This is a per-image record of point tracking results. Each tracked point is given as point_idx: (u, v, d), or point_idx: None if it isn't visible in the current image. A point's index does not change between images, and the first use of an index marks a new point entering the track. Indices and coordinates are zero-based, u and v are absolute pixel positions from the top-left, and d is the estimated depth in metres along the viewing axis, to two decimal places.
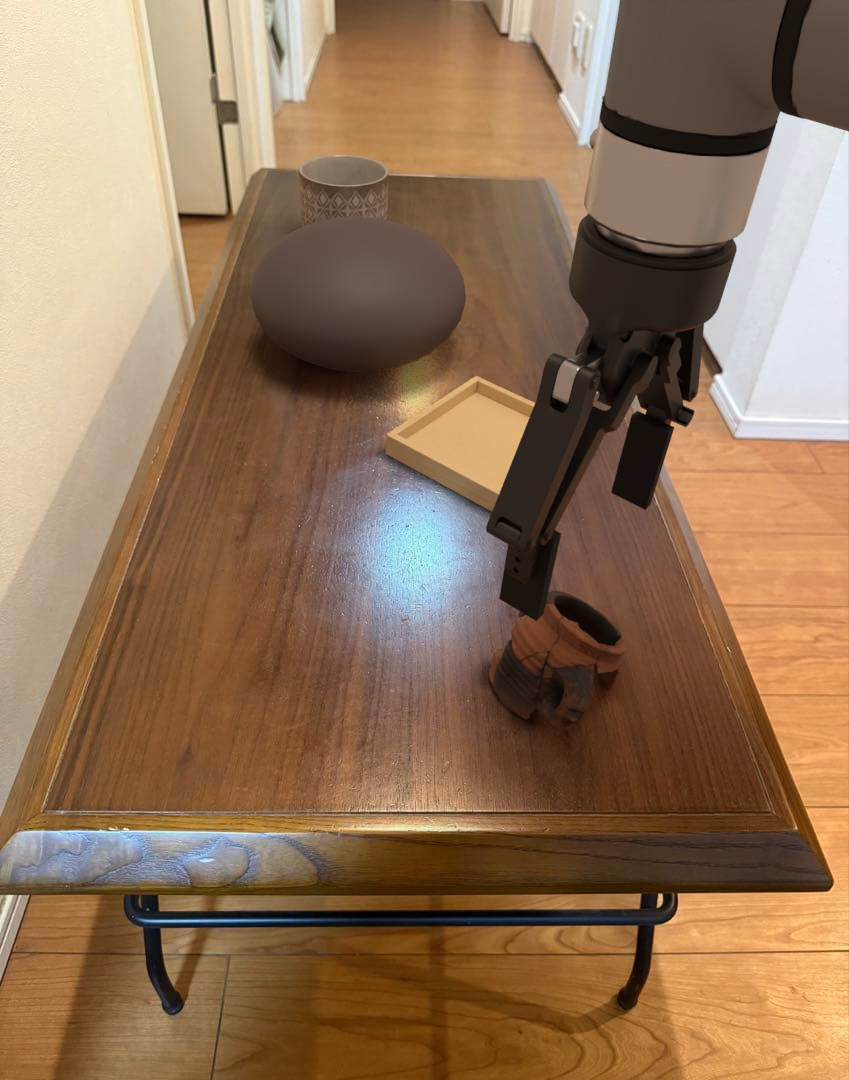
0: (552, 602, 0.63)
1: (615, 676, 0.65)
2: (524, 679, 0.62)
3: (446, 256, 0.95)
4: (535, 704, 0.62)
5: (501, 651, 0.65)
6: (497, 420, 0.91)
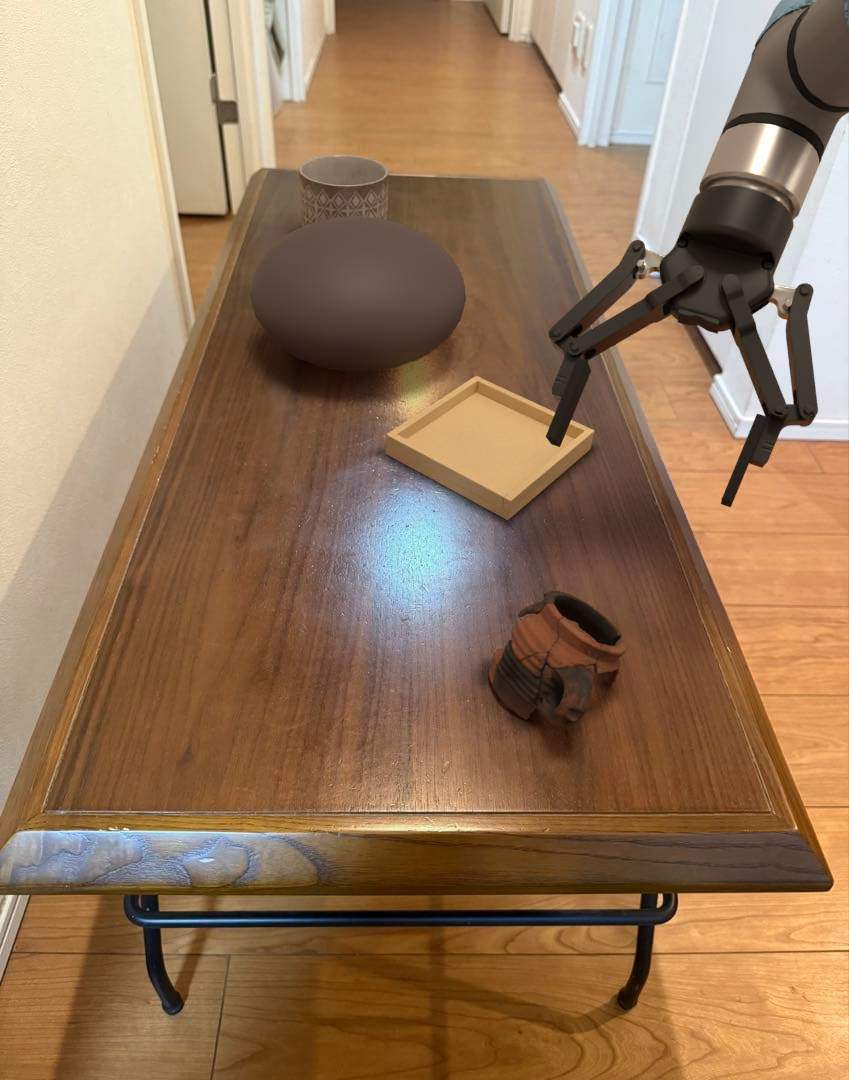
0: (552, 602, 0.63)
1: (615, 676, 0.65)
2: (524, 679, 0.62)
3: (446, 256, 0.95)
4: (535, 704, 0.62)
5: (501, 651, 0.65)
6: (497, 420, 0.91)
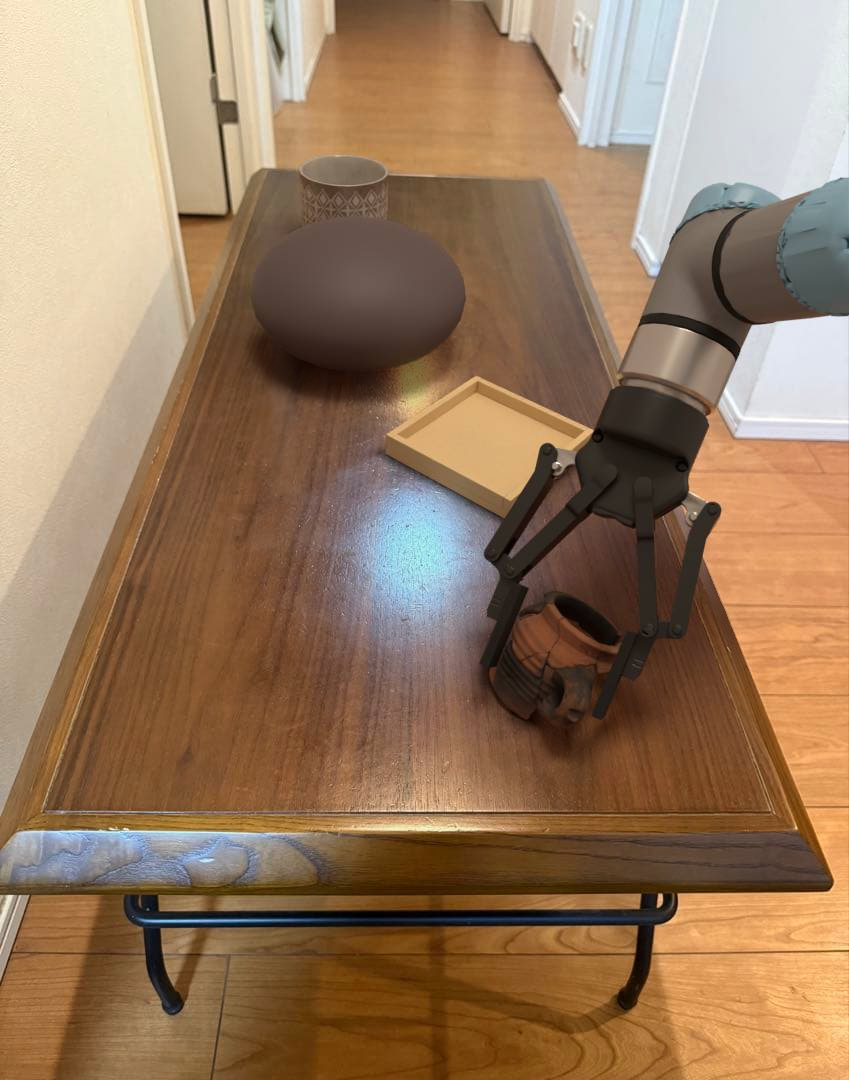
0: (552, 602, 0.63)
1: None
2: (525, 679, 0.62)
3: (446, 256, 0.95)
4: (535, 704, 0.62)
5: None
6: (497, 420, 0.91)
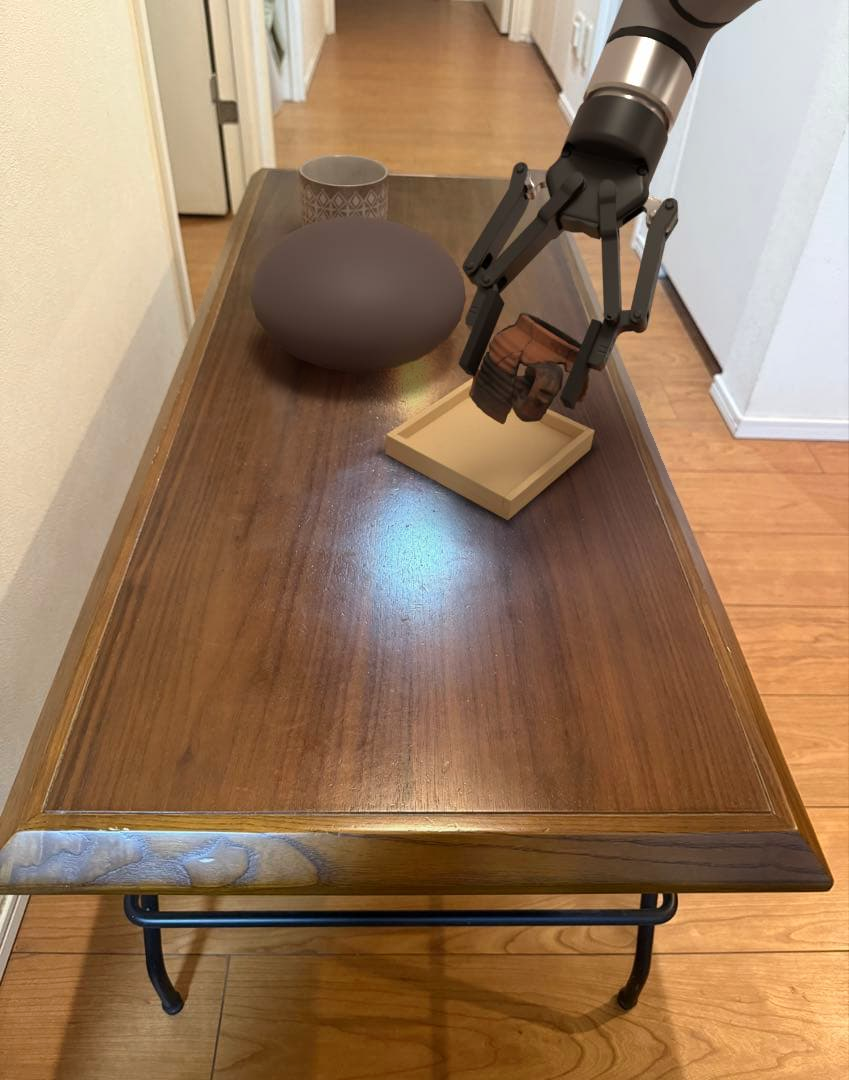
0: (526, 315, 0.68)
1: (585, 390, 0.70)
2: (500, 380, 0.67)
3: (446, 256, 0.95)
4: (510, 404, 0.67)
5: (480, 370, 0.71)
6: None
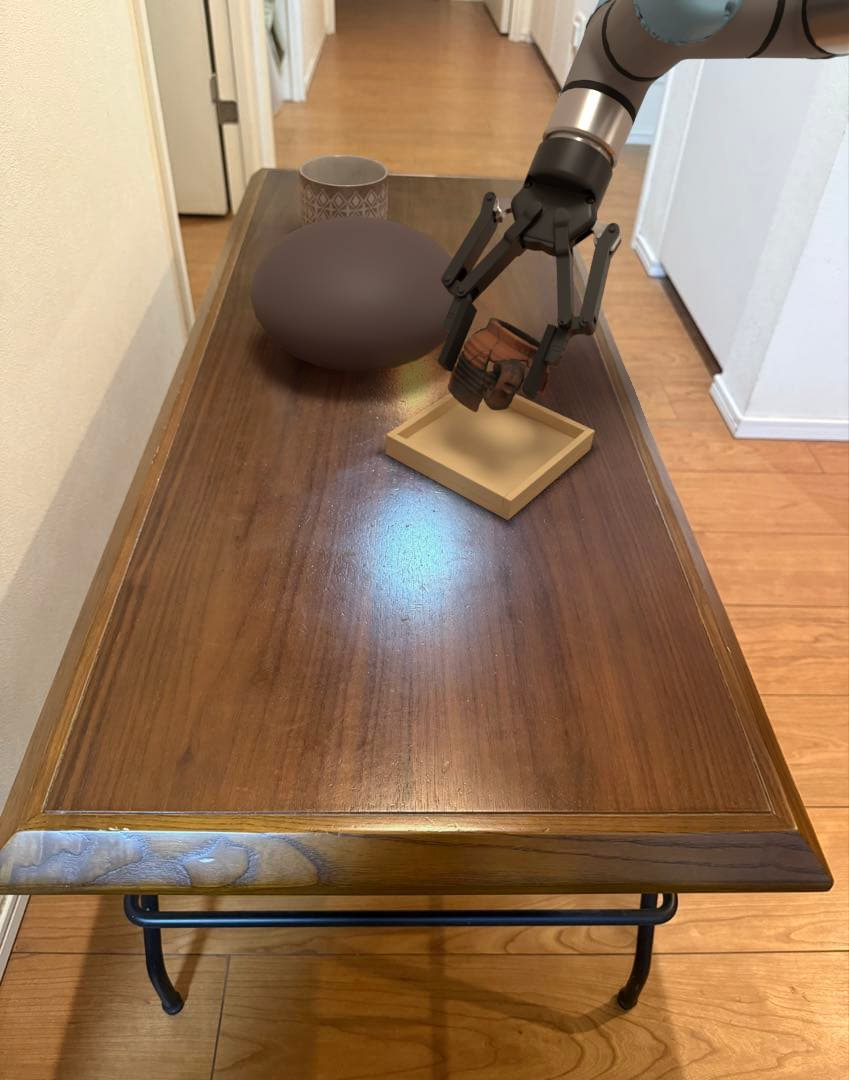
0: (495, 320, 0.81)
1: (546, 384, 0.83)
2: (473, 375, 0.80)
3: (446, 256, 0.95)
4: (481, 395, 0.80)
5: None
6: (497, 420, 0.91)
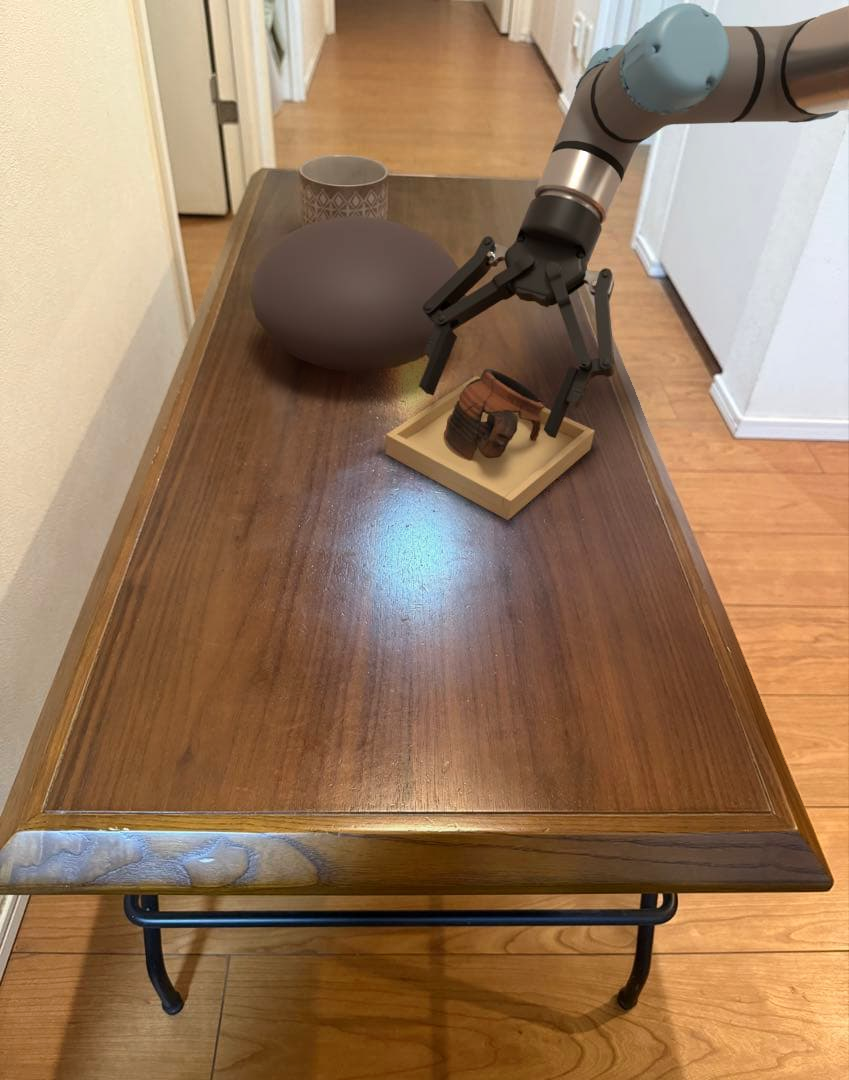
0: (489, 372, 0.85)
1: (537, 431, 0.87)
2: (468, 425, 0.84)
3: (446, 256, 0.95)
4: (476, 444, 0.84)
5: None
6: None
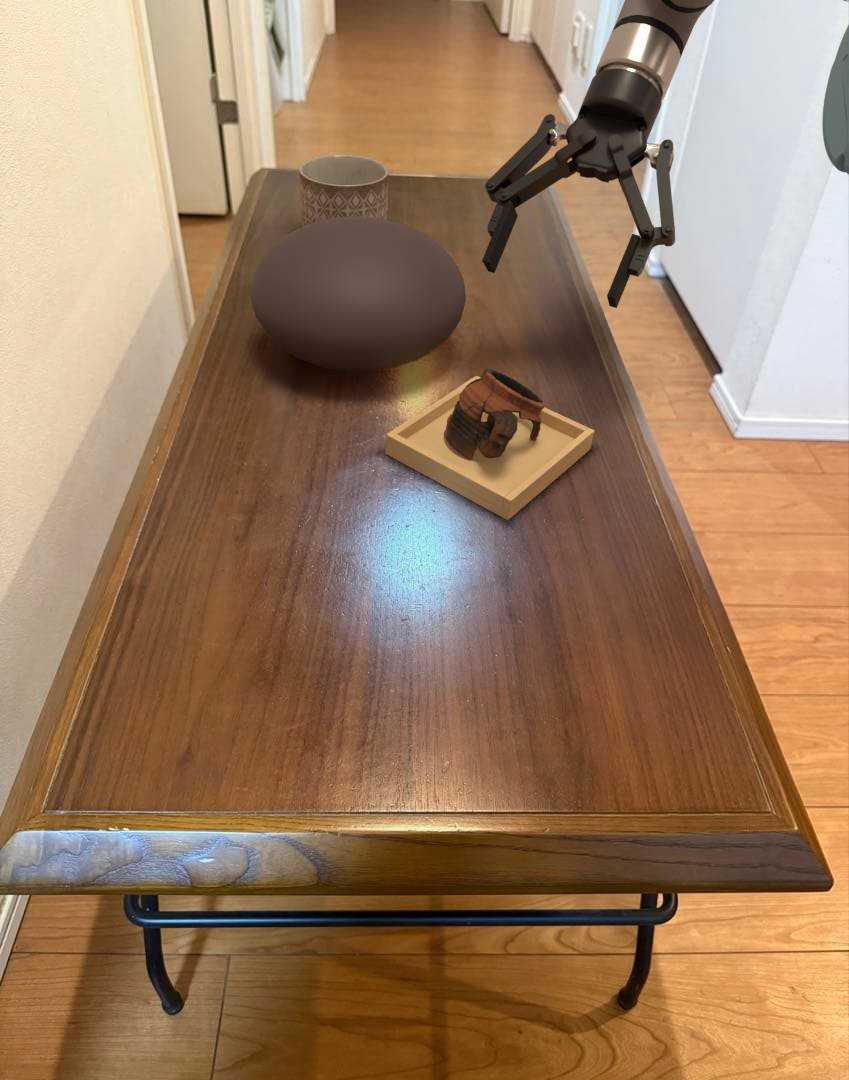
0: (489, 372, 0.85)
1: (537, 431, 0.87)
2: (468, 425, 0.84)
3: (446, 256, 0.95)
4: (476, 444, 0.84)
5: None
6: None
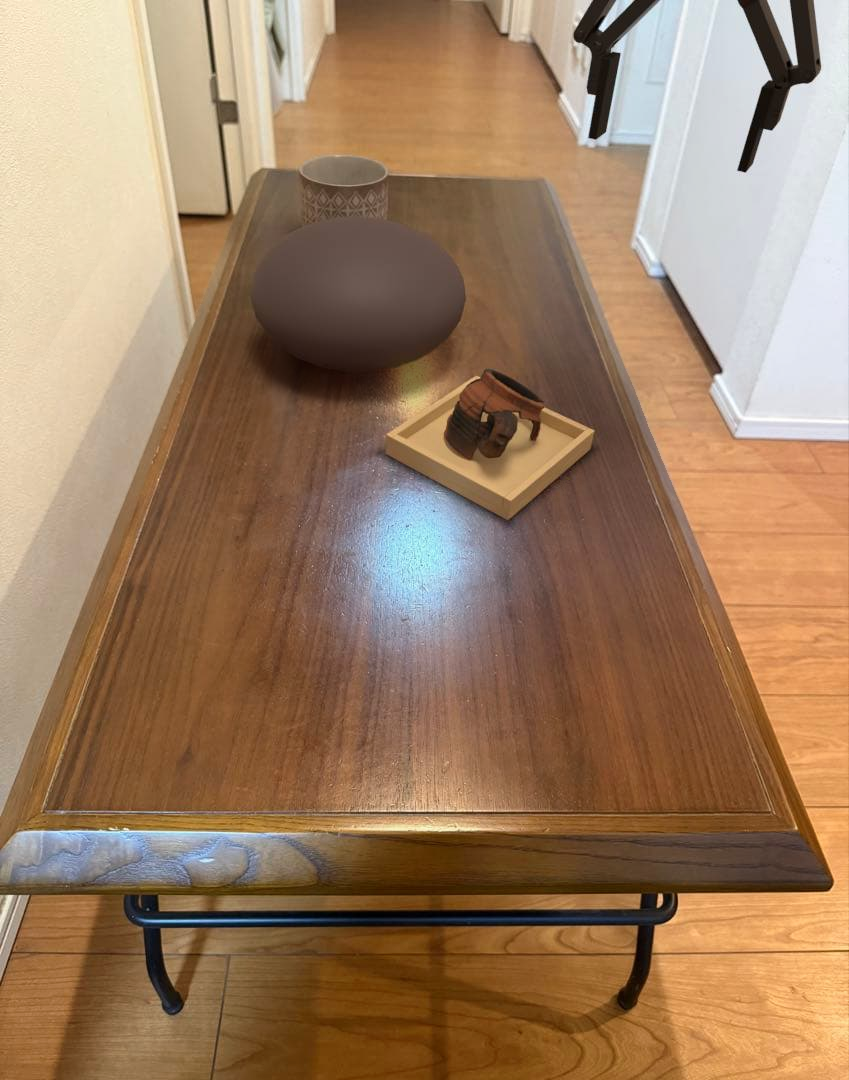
0: (489, 372, 0.85)
1: (537, 431, 0.87)
2: (468, 425, 0.84)
3: (446, 256, 0.95)
4: (476, 444, 0.84)
5: None
6: None
